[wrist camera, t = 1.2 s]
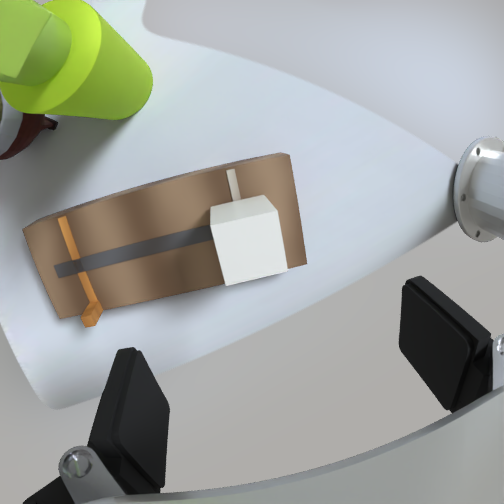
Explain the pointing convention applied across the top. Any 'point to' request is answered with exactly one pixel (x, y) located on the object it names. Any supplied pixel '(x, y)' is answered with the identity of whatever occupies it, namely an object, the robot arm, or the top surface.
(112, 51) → the soap dispenser
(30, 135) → the mate gourd
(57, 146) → the top surface
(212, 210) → the fader knob
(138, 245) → the fader console
